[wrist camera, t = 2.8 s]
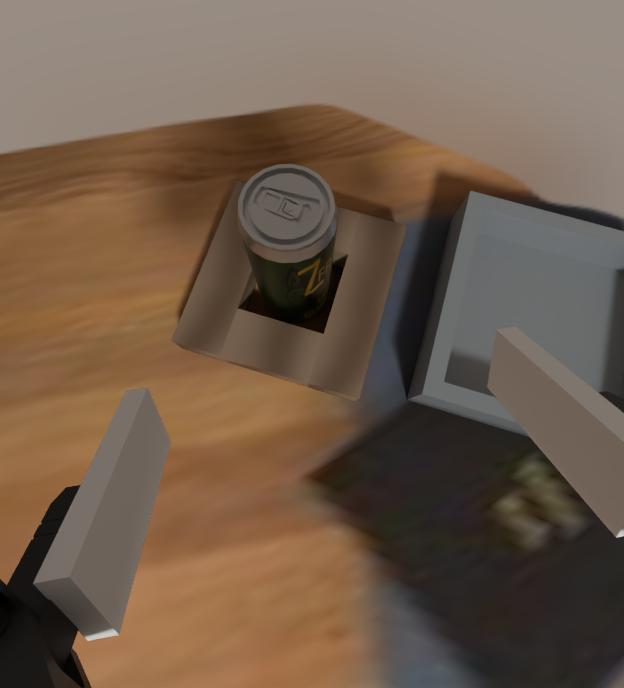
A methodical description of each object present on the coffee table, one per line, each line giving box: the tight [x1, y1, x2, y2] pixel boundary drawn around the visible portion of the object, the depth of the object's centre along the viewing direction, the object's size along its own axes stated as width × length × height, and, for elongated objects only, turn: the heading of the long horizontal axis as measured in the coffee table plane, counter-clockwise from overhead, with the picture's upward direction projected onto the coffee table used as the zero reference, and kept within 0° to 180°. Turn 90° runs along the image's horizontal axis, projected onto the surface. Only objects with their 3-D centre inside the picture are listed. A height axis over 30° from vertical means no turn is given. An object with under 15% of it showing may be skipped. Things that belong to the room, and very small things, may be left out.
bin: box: [407, 191, 624, 437], centre depth 28 cm, size 16×16×4 cm
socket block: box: [171, 179, 407, 401], centre depth 29 cm, size 14×14×2 cm
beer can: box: [237, 164, 338, 322], centre depth 25 cm, size 5×5×12 cm
